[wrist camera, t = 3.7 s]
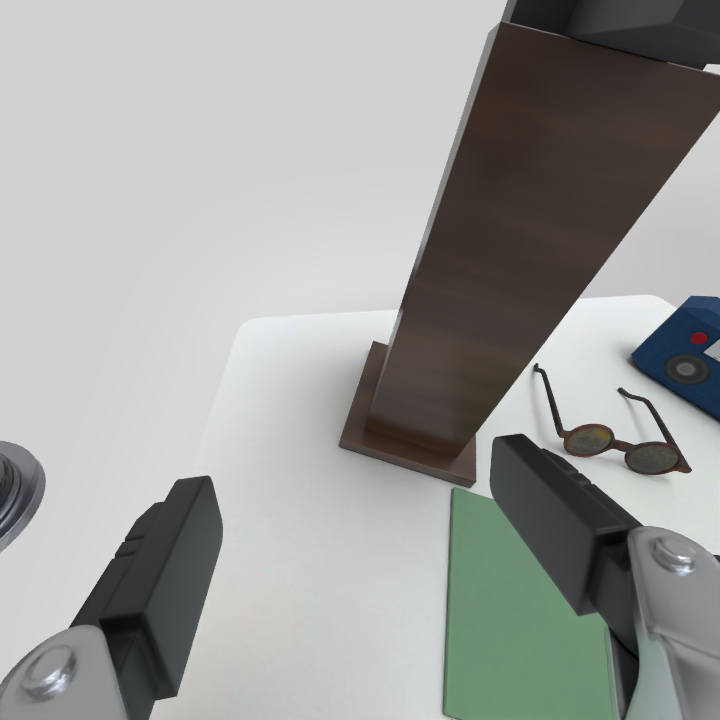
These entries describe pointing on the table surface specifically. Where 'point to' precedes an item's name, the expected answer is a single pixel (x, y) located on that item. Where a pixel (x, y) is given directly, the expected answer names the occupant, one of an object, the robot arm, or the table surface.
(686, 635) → the robot arm
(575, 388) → the table surface
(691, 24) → the green-topped block with handle
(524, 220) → the stand
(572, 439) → the eyeglasses
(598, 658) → the mat
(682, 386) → the radio
